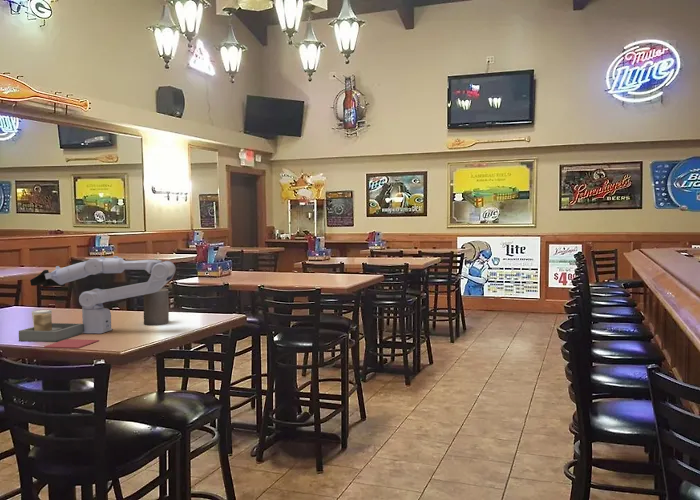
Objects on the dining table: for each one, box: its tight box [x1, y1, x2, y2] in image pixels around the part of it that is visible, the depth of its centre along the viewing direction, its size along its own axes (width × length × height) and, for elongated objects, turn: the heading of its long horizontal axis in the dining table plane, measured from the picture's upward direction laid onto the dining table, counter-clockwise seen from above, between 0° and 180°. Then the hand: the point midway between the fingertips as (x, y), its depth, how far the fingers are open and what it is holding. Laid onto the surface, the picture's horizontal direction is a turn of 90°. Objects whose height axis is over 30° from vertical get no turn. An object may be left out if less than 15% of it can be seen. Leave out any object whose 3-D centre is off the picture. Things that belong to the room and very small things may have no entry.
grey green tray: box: [18, 322, 84, 343], centre depth 213 cm, size 14×16×4 cm
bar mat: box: [43, 338, 100, 349], centre depth 200 cm, size 12×12×1 cm
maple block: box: [33, 313, 53, 331], centre depth 213 cm, size 4×4×6 cm
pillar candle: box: [142, 287, 170, 326], centre depth 240 cm, size 10×10×15 cm
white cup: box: [31, 309, 53, 326], centre depth 229 cm, size 7×7×7 cm
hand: (37, 283), depth 221 cm, fingers open, 7 cm apart
